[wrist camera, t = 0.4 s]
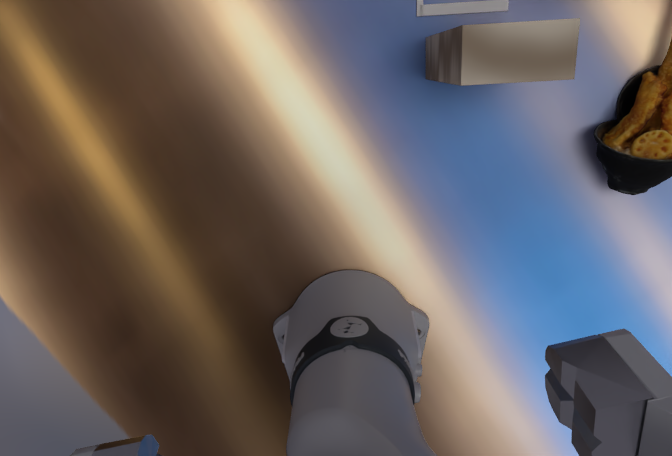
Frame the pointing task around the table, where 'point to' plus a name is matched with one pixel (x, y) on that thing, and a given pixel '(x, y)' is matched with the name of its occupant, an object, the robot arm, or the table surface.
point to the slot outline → (461, 7)
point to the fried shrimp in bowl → (639, 132)
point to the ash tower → (504, 52)
